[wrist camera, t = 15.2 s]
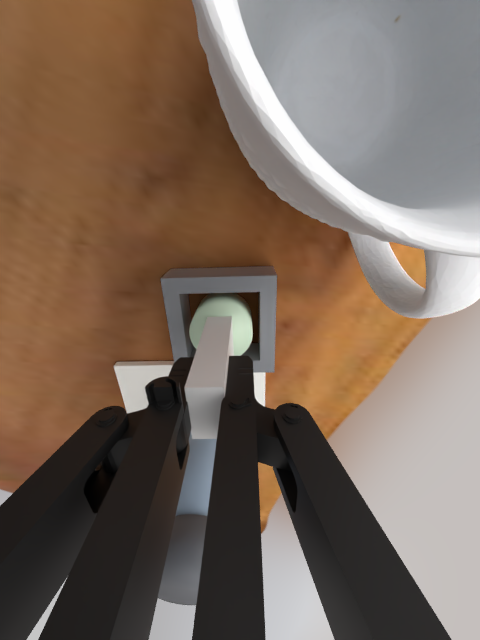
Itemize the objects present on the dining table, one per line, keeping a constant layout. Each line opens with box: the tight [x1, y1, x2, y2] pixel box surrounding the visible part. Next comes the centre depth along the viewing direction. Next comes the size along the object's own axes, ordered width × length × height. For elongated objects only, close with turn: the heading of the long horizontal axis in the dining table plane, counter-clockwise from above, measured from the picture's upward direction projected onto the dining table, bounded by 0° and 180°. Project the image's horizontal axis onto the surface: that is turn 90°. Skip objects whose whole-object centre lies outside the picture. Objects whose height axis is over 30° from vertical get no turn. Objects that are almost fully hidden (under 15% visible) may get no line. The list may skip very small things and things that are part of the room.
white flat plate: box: [114, 361, 265, 413], centre depth 23 cm, size 10×12×1 cm
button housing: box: [160, 266, 277, 373], centre depth 18 cm, size 7×7×2 cm
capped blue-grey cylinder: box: [158, 432, 217, 605], centre depth 17 cm, size 4×4×11 cm
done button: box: [189, 293, 253, 356], centre depth 18 cm, size 4×4×3 cm
